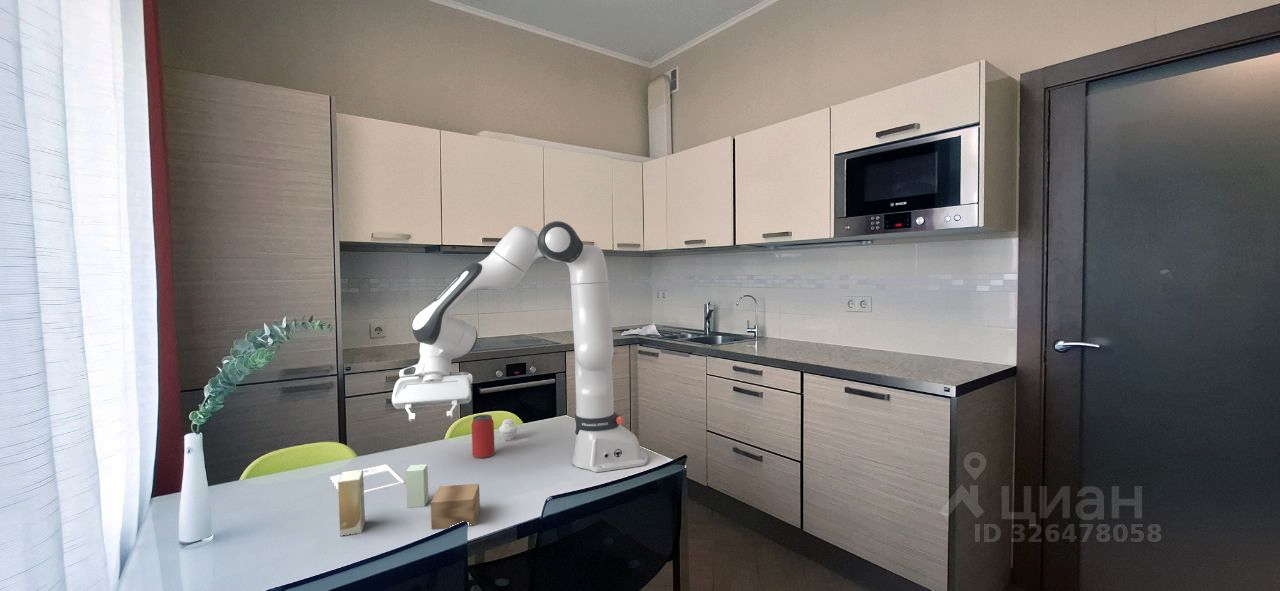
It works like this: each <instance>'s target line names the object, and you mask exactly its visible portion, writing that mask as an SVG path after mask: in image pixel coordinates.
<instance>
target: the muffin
mask: <svg viewBox="0 0 1280 591" xmlns="http://www.w3.org/2000/svg"><path fill="white" fill-rule="evenodd" d="M498 432H499V434H500V436H501V438H502V440H503V441H506V440H507V441H512V440H514V437H515V436H516V434H517V432H518V426H517V425H516V424H515V423H514V420H513V419H511V418H506V419H504V420H502V424H501V425H499V428H498ZM511 439H512V440H511Z"/></svg>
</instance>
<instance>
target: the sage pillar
mask: <svg viewBox="0 0 1280 591" xmlns="http://www.w3.org/2000/svg"><path fill="white" fill-rule="evenodd" d="M405 484H406V485H405V486H406V508H407V509H411V508H412V509H413V508H423V507H426V505H427V503H428V502H429V498H430V496H429V475H428V464H411V465H409V466H408V467H407V469H406V470H405Z"/></svg>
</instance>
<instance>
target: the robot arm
mask: <svg viewBox="0 0 1280 591" xmlns="http://www.w3.org/2000/svg"><path fill="white" fill-rule="evenodd" d="M539 258H544V259H547V260H550V261H552V262H558V263H559V262H563V263H565V264H566V265H567V267H568V271H569V278H570V296H571V297H570V298H571V311H572V313H571V314H572V328H573V331H572V332H573V346H574V349H573V350H574V369H575V370H574V371H575V372H574V373H575V376H574V379H575V380H574V381H575V414H574V419H573V420H574V433H575V443H574V444H575V445H574V450H573V454H572V460H571V463H572V465H573V466H574V467H578V468H581V469H585V470H589V471H591V472H594V473H602V472H608V471H616V470H623V469H629V468H636V467H642V466H645V465H646V464H648V462H649V456H648V453H647V452H646V450H644V449H642V448H641V445H640V442H639V439H638V437H637V436H636V434H634V433H633V432H632V431H630V430H629V429H627V428H626V427H624V426H623V424H624V419H623V416H621V415H620V414H619V413H618V411H616V412H615V411H614V382H613V369H612V368H613V367H612V365H613V364H612V360H613V358H614V354H615V352H614V339H613V336H614V335H613V328H612V316H611V306H610V290H609V289H610V288H609V274H608V267H607V263H606V258H605V254H604V252H603V250H602V248H600V247H599V246H596V245H593V244H584V243H583V241H582V240H581V238H580V236H579V235H578V233H577V232H576V230H575V229H574V228H573V227H572V226H571V225H570V224H568V223H567V222H564V221H561V220H554V221H551V222H548V223H547V224H545V225H544V226H543V227H542V228H541V230H540V231H536V230H535V231H534V230H533V229H531V227H528V226H525V225H516V226H514V227H513V228H511V229H510V230H509V231H507V233H506V234H505V235H504V236H502V238H501V239H500V240H499V242H498V243H497V244H496V245H495V247H494V248H493V249H492V251H491V252H490V253H489V254H488V256H485V258H484V259H482V260H480V261H479V262H472V263H470V264H469V265H467V266H466V267H465V268H464V269H462V270H461V271H460V272H459V274H457V275H456V276H455V278H454V279H452V280H451V281H450V283H448V284H447V286H446V287H445V288H444V289H443V290H442V291H440V292H439V294H438V295H437V296H436V297H435V298H434V299H433V300H432V301H431V302H430V303H428V305H426V306H425V307H423V308H422V309H421V310H419V311H418V312H417V314H416V315H415V316H414V318H413V319H412V322H411V330H412V334H413V336H414V339H415V340H416V341H417V342H418V343H419V357H420V358H419V360H418V362H417V363H416V364H414V365H411V366H409V367H405V368H402V369H400V370H399V371H398V372H399V373H398V374H399V378H398V379H397V381H396V382H395V384H394V387H393V391H392V395H391V404H392V406H393V407H394V408H395V409H396V410H399V409H405V411H406V412H407V414H408V421H409V423H416V422H417V415H416V413H413V409H415V408H422V407H423V408H426V407H437V406H438V407H439V406H448V405H449V406H450V405H451V408H450V410H446V420H453V419H454V414H455V412H456V410H457V409H458V407H459V405H462V404H463V405H464V404H469V403H470V402H471V401H472V389H471V385H473V379H474V378H473V375H472V373H470V372H468V371H453V372H452V360H453V359H455V360H456V359H459V358H461V357H464V356H466V355H468V354H470V353H471V352H473V351H474V350H475V348H476V346H477V344H478V336H479V335H478V330H477V328H476V326H474V325H473V324H472V323H468V322H466V321H464V320H462V319H460V318H457V317H455V316H454V315H452V314H449V313H450V312H451V311H453V309H455V307H456V306H457V305H458V304H459V303H460V302H461V301H462V300H463V299H464V297H466V295H468V294H469V293H470V292H472V291H475V290H476V291H477V290H491V291H506V290H510V289H512V288H514V287H515V286H517V285H518V284H519V282H521V280H522V279H523V277H524V276H525V275H526V272H528V270H529V268H530V267H531V265H532V264H533V263H534V262H536V260H537V259H539Z"/></svg>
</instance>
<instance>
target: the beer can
mask: <svg viewBox="0 0 1280 591" xmlns="http://www.w3.org/2000/svg"><path fill="white" fill-rule="evenodd" d="M471 444H472V445H471V450H472V451H471V452H472V457H474V458H475V459H487V458H490V457H492V456H493V455H494V454H495V451H496V450H495V422H494V420H493V416H492V415H490V414H479V415H475V416H474V417H473V418H472V422H471ZM486 457H487V458H486Z"/></svg>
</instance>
